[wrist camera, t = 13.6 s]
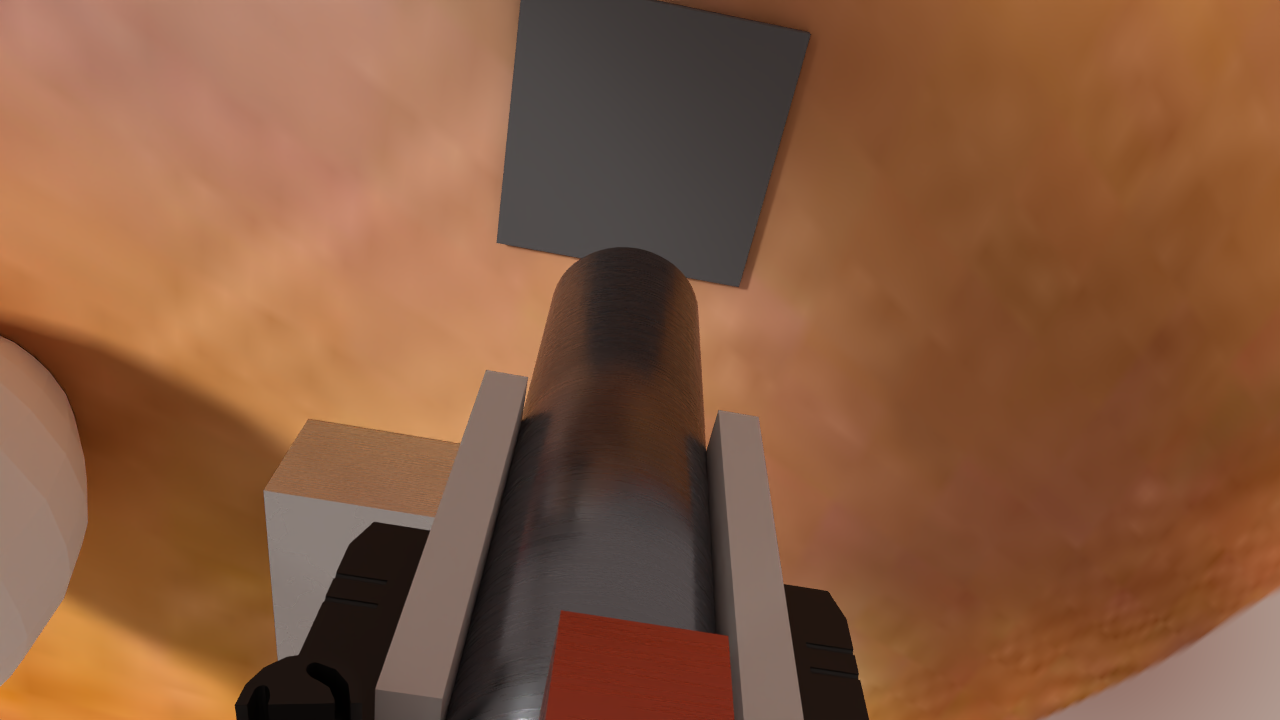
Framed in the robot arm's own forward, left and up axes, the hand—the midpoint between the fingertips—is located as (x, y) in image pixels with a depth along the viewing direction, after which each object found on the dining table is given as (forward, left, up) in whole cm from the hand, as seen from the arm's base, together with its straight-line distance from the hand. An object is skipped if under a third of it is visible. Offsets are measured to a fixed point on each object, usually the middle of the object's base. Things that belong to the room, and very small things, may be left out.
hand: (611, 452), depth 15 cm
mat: (0, 0, -18) cm, 18 cm away
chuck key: (0, 0, -5) cm, 5 cm away
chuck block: (-7, -22, -18) cm, 29 cm away
